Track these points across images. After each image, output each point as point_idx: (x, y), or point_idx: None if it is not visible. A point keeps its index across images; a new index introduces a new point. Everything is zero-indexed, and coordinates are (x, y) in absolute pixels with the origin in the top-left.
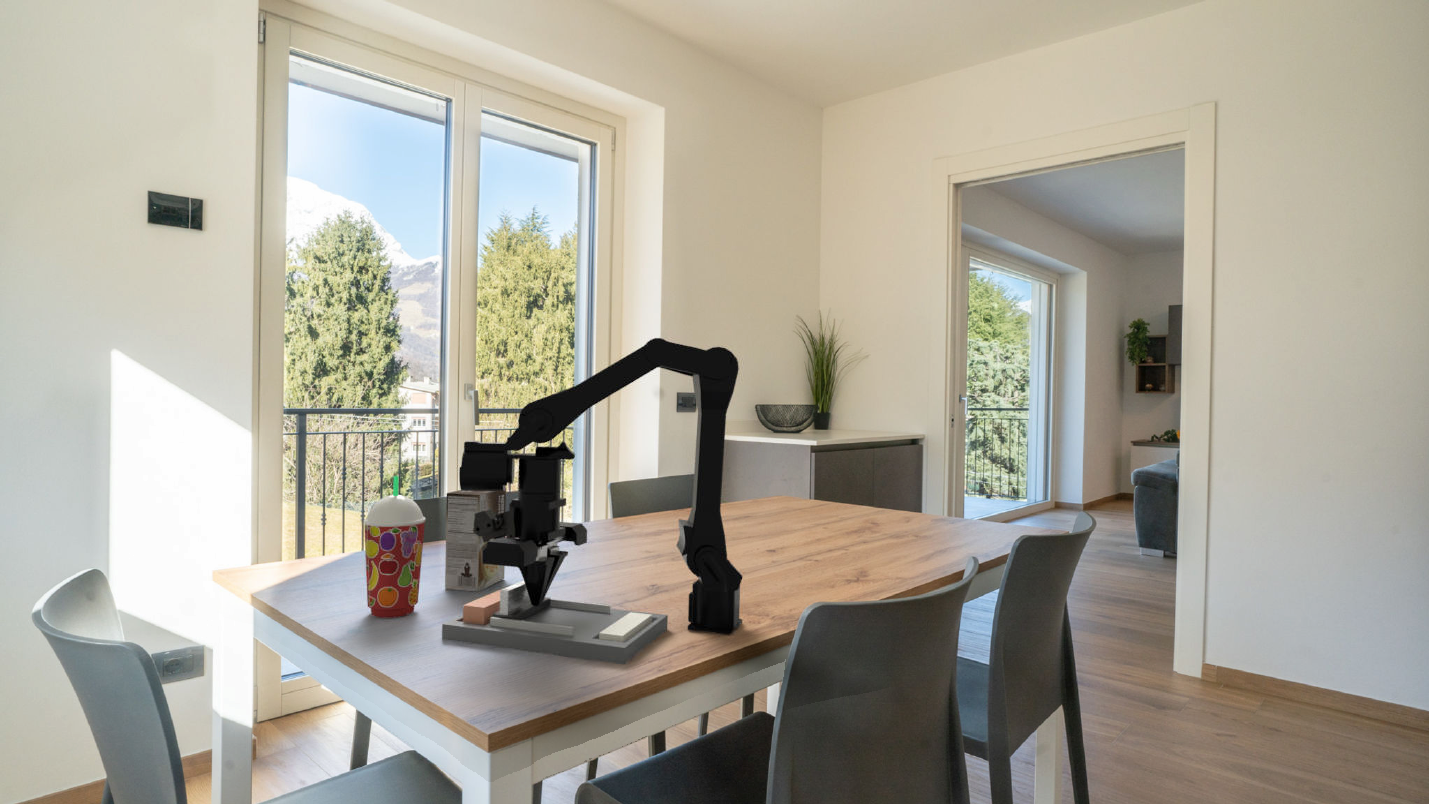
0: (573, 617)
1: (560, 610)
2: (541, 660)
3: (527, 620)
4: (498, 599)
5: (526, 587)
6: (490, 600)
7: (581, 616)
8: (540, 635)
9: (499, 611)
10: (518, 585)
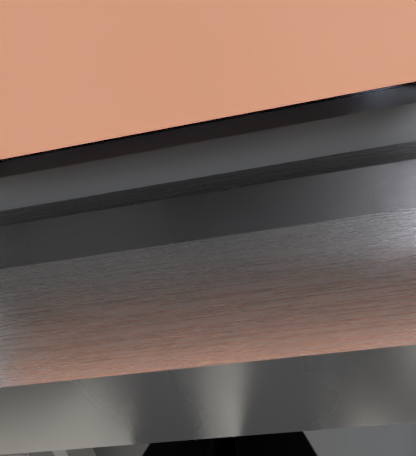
0: (313, 436)
1: None
2: None
3: None
4: (120, 101)
5: (144, 453)
6: (48, 59)
7: (344, 451)
8: (43, 452)
9: (18, 231)
10: (83, 430)
